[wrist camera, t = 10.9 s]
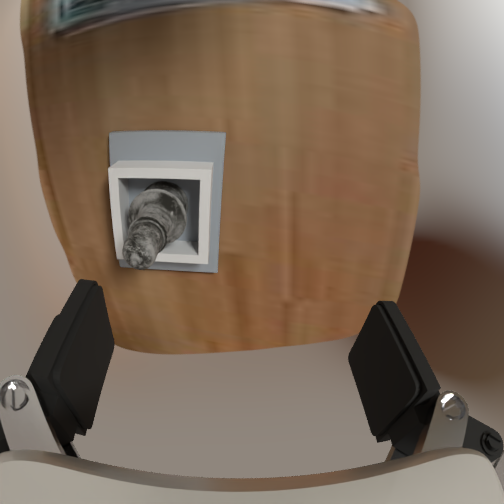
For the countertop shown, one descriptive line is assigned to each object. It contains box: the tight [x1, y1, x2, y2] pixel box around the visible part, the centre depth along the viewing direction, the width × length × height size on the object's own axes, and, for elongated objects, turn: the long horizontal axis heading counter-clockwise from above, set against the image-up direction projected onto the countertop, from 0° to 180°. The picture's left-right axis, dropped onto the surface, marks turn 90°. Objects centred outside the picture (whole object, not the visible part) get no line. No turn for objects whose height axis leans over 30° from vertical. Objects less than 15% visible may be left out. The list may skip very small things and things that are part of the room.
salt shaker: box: [122, 181, 189, 270], centre depth 26 cm, size 6×6×12 cm
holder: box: [108, 130, 226, 273], centre depth 31 cm, size 16×12×4 cm
